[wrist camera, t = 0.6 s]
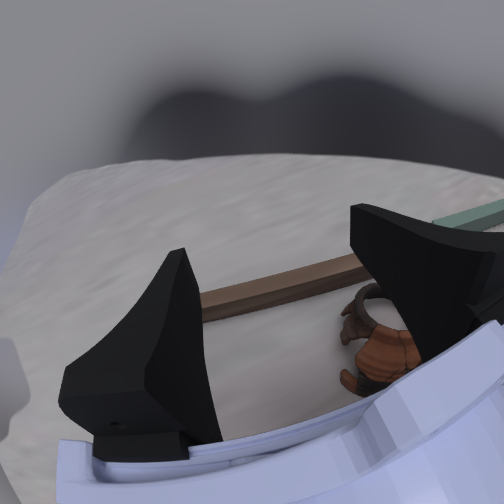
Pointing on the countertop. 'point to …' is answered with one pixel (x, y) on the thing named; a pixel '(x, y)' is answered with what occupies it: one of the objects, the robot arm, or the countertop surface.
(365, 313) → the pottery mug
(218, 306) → the brown wooden frame
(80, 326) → the countertop surface
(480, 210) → the frame
